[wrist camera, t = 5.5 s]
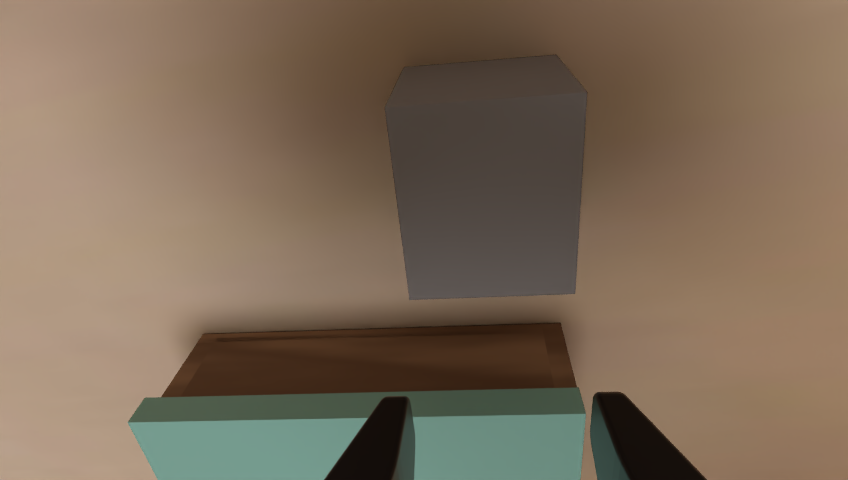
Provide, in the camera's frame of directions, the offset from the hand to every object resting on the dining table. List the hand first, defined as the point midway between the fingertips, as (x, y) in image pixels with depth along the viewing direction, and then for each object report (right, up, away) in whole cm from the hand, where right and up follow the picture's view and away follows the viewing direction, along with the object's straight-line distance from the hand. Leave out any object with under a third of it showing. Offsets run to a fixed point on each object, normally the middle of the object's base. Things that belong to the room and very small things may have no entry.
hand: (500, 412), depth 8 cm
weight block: (+1, +6, +11) cm, 12 cm away
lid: (-3, -8, +14) cm, 17 cm away
